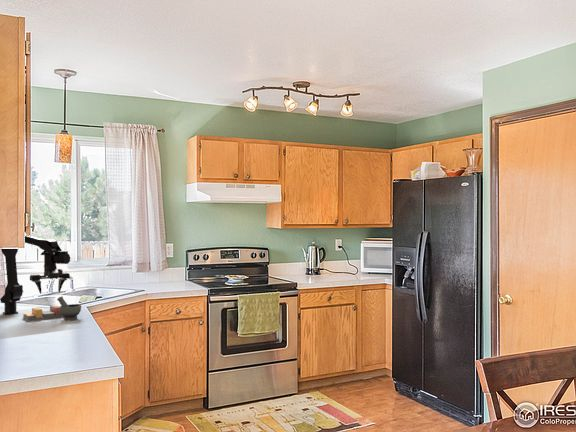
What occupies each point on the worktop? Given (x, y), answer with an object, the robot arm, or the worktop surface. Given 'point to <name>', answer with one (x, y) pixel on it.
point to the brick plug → (55, 309)
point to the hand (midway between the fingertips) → (50, 293)
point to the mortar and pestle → (69, 310)
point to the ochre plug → (37, 312)
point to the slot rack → (45, 315)
